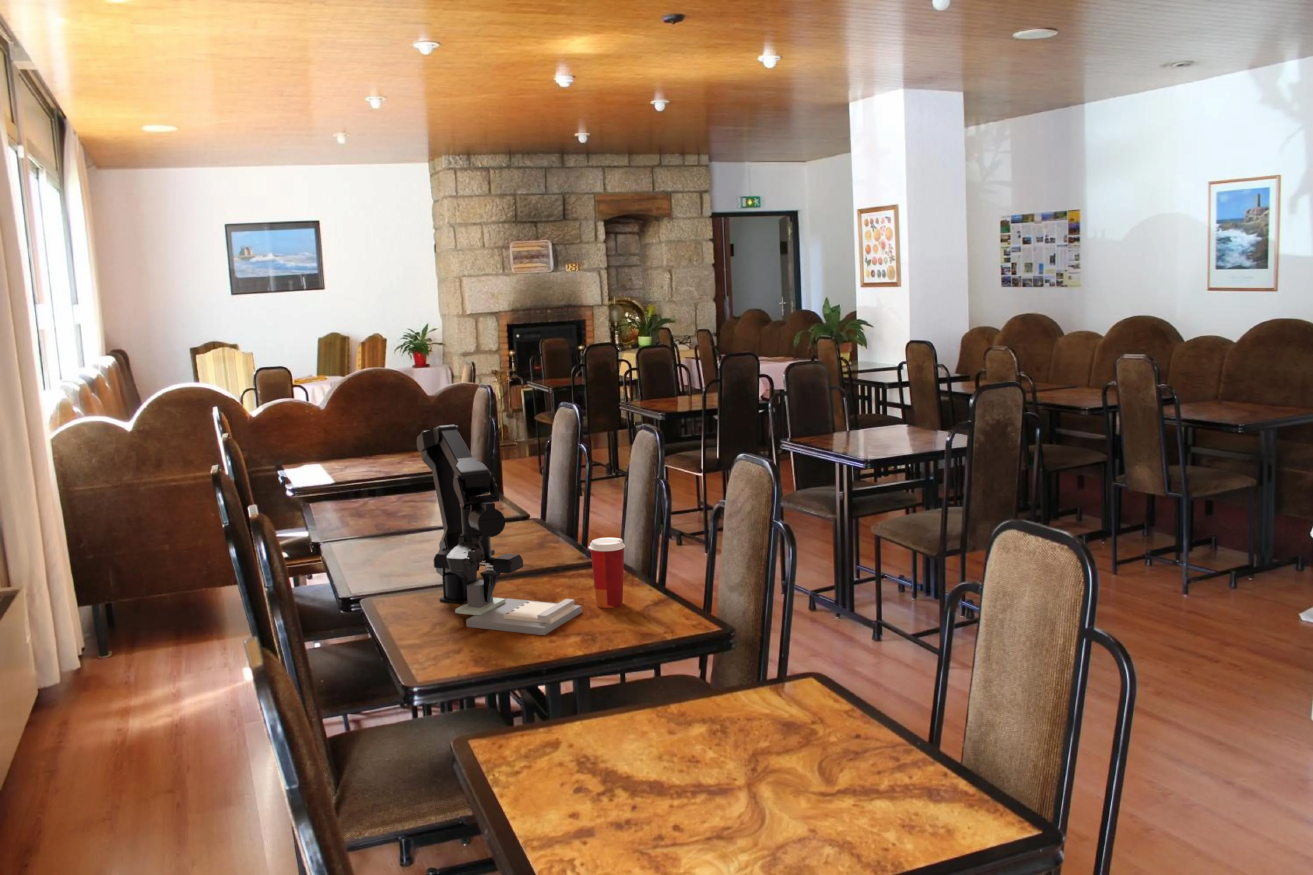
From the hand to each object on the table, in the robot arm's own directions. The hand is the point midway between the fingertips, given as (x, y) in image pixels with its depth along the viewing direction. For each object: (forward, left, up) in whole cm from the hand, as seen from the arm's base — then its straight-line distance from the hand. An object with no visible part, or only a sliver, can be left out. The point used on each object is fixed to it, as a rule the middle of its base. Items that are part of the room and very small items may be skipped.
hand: (480, 600), depth 232 cm
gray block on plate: (0, 0, -1) cm, 1 cm away
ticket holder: (+11, 0, -3) cm, 11 cm away
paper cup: (+23, +15, -3) cm, 27 cm away
